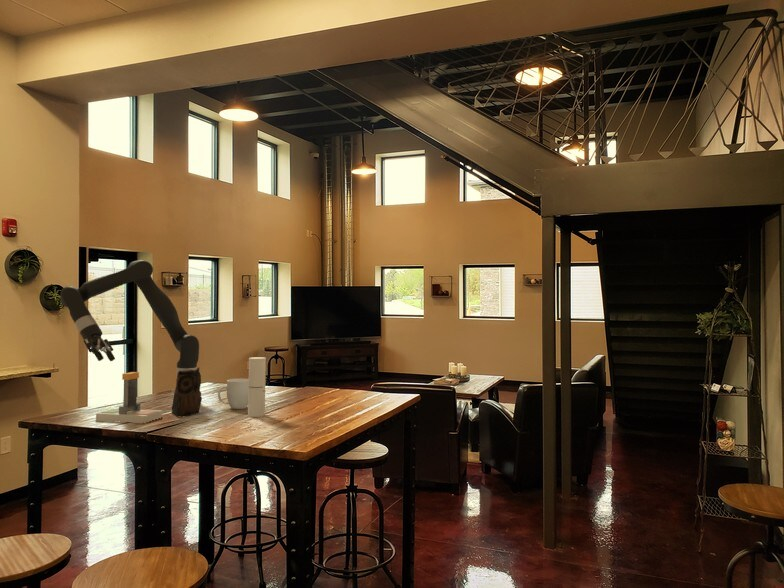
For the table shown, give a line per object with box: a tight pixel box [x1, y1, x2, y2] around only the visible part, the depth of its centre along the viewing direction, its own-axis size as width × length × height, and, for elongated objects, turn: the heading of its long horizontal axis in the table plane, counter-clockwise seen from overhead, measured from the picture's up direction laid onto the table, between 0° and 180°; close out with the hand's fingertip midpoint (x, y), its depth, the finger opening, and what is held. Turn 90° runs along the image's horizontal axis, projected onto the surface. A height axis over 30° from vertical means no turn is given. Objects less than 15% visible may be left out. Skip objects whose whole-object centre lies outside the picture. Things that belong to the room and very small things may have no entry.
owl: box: [171, 366, 203, 418], centre depth 240 cm, size 13×13×20 cm
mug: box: [217, 378, 249, 410], centre depth 255 cm, size 15×11×13 cm
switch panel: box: [95, 402, 163, 424], centre depth 227 cm, size 22×12×6 cm, turn 80°
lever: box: [121, 371, 140, 412], centre depth 227 cm, size 3×6×16 cm, turn 170°
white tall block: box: [247, 356, 267, 418], centre depth 239 cm, size 7×7×25 cm
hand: (107, 360), depth 230 cm, fingers open, 8 cm apart
